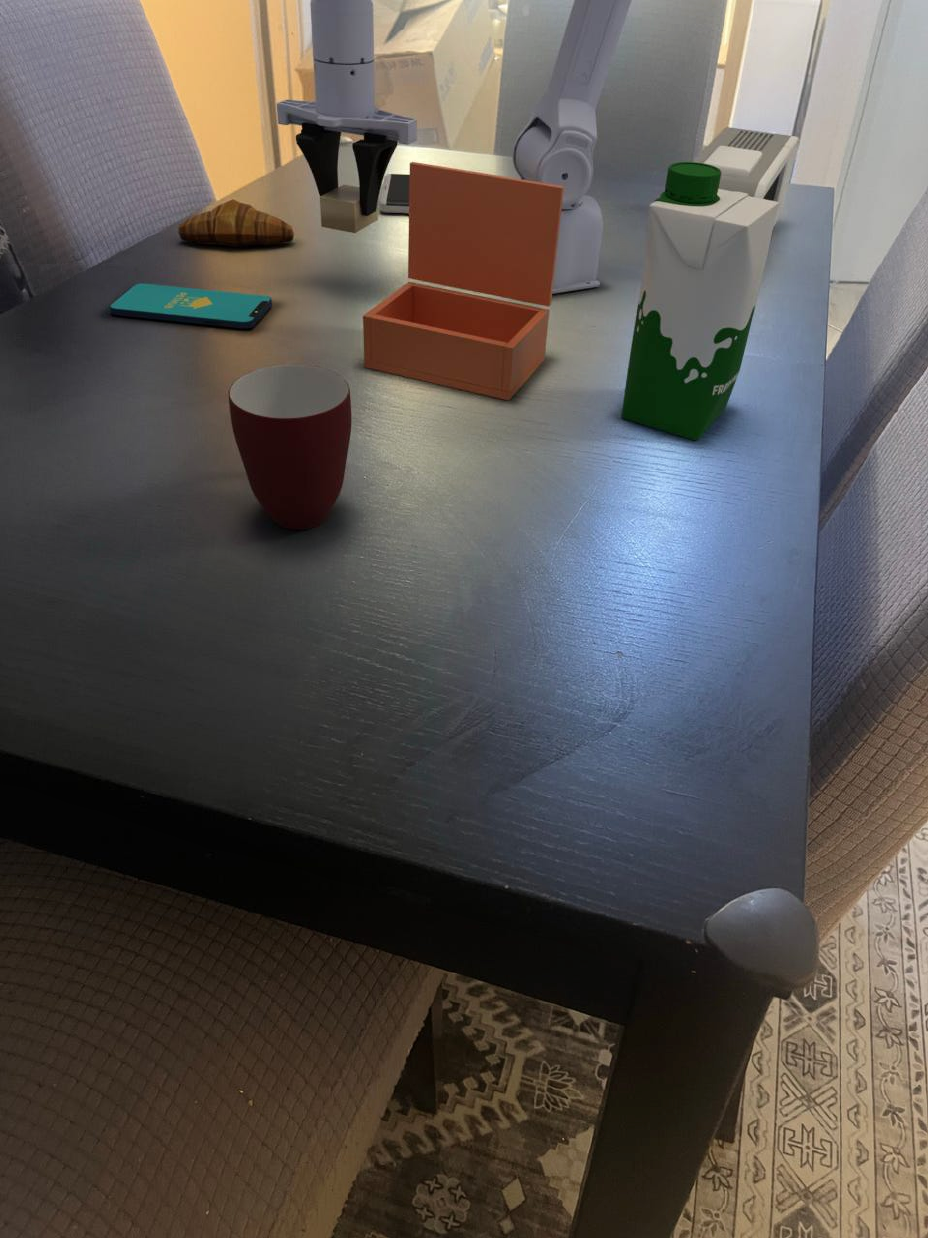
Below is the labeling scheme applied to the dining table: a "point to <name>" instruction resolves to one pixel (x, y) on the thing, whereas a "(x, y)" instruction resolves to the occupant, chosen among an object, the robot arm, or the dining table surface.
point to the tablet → (395, 194)
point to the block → (344, 210)
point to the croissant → (235, 227)
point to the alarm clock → (753, 162)
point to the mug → (293, 439)
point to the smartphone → (192, 305)
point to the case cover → (483, 232)
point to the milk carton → (695, 300)
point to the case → (456, 339)
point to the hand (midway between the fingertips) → (349, 209)
